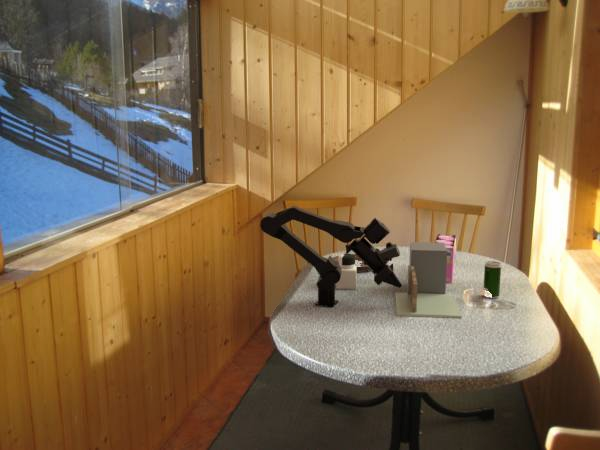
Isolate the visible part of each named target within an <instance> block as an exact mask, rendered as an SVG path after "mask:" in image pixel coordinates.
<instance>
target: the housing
mask: <svg viewBox="0 0 600 450" xmlns="http://www.w3.org/2000/svg"><path fill="white" fill-rule="evenodd" d="M446 265H447V249H446V247H445V244H444V243H434V242H428V241H427V242H424V241H423V242H422V241H421V242H420V241H418V242H416V241H410V242H409V264H408V267H407V288H406V289H407V292H396V291H395V311H396V316H398V317H425V318H426V317H427V318H452V319H461V318H463V317H462V313H461V309H460V308H459V304H458V301H457V299H456V295H455V294H454V293H453V294H452V293H446V287H447V286H446V285H447V283H446ZM411 269H415V273H416V279H417V311H412V303H411V295H410V291H411Z"/></svg>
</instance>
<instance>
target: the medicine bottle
mask: <svg viewBox="0 0 600 450" xmlns="http://www.w3.org/2000/svg"><path fill="white" fill-rule="evenodd" d="M353 254H354V253H348V254H346V252H345V253H340V254H339V255H337V256H338V262H339V265H340V266H341V269H342V273H341V277H340V280H339V282H337V283H336V285H335V290H357V273H358V272H357V266H356V265H355V256H354V255H353Z"/></svg>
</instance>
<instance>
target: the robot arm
mask: <svg viewBox="0 0 600 450" xmlns="http://www.w3.org/2000/svg"><path fill="white" fill-rule="evenodd" d="M291 221H296V222H299V223H302V224H305V225H307V226H310V227H312V228H316V229H318V230H321V231H324V232H326V233H327V234H328V235H330V236H331V237H333V238H334V239H336V240H338V241H340V242H341V243H344V244H345V253H346V254H350V252H353V254H356V255H357V256H358V257H359V258H360V259H361V260H362V261H363V264H364V265H367V266H368V267H369V268H370V269H371V272H372V274H373V282H374V283H375V284H376V285H377V286H380V285H381V284H382V283H385V284H388V285H391V286H393V287H396V288H398V289H401V288H402V287H403V285H402V282H401V281H400V280H399V278H398V276H397V275H396V274H395V272H394V263H391V264H388V263H389V262H391V261H393V259H395V258H398V257H400V256H401V252H400V249H399V248H398V246H397V244H396V243H394V244H393V243H392V241H389V242H386V243H385V247H384V248H383V249H379V248H378V247H377V248H375V247H374V246H373V245H375V244H376V245H379V244H380V242H382V240H383V239H385V238H386V237H387V236H388V235H389V234H390V233H391V231H390V229H389V228H388V226H387V225H386V224H385V223H383V222H382V221H380V220H379V219H378V218H376V217H374V218H372V220H371V221H370V222H369V223H368V224H367V225H366V226H365V227H364V226H363V227H362V226H355V224H353V223H352V222H348V221H343V220H335V219H331V218H326V217H324V216H323V215H322V216H321V215H320V214H317V213H314V212H311V211H308V210H305V209H302V208H300V207H298V206H297V205H291V206H289V207H288V208H286V209H283V210H281V211H278V212H276V213H275V212H270V213H267V214H266V215H265V216H264V217H263V218H262V219H261V220H260V230H261V231H262V232H263V233H265V234H267V235H268V236H269V237H272V238H275V239H277V240H280V241H281V242H283V243H284V245H286V246H288V247H289V248H290V249H291V250H293V251H294V252H295V253H296V254H297V255H299V256H300V257H301V258H303V259H304V260H305V262H307V263H309V264H310V265H311V266H312V267H314V269H315V270H316V272H317V274H318V275H319V276H318V278H317V282H316V287H317V301H316V302H314V304H315V305H314V304H313V305H314V306H318V305H323V306H322V307H326V306H328V307H327V308H333V307H335V305H336V304H338V303H339V300H338V299H336V285H335V284H336V283H337V282H339V280H340V277H341V273H342V269H341V266H340V265H339V262H337V261H335V260H334V259H333V257H332V256H331V255H329V256H328V258H327V257H324V256H322V255H321V254H319V252H317V251H316V250H314V248H313V247H311V246H310V245H309V244H308V243H307V242H305V241H304V240H302V239H301V238H300V237H299V236H297V235H296V234H295V233H293V232H292V231H291V230H290V229H289V227H288V226H287V225H286V224H287V223H289V222H291Z"/></svg>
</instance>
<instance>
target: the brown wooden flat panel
mask: <svg viewBox="0 0 600 450" xmlns="http://www.w3.org/2000/svg"><path fill="white" fill-rule="evenodd" d="M410 295H411V303H412V311H417V279H416V273H415V269H411V291H410Z"/></svg>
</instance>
